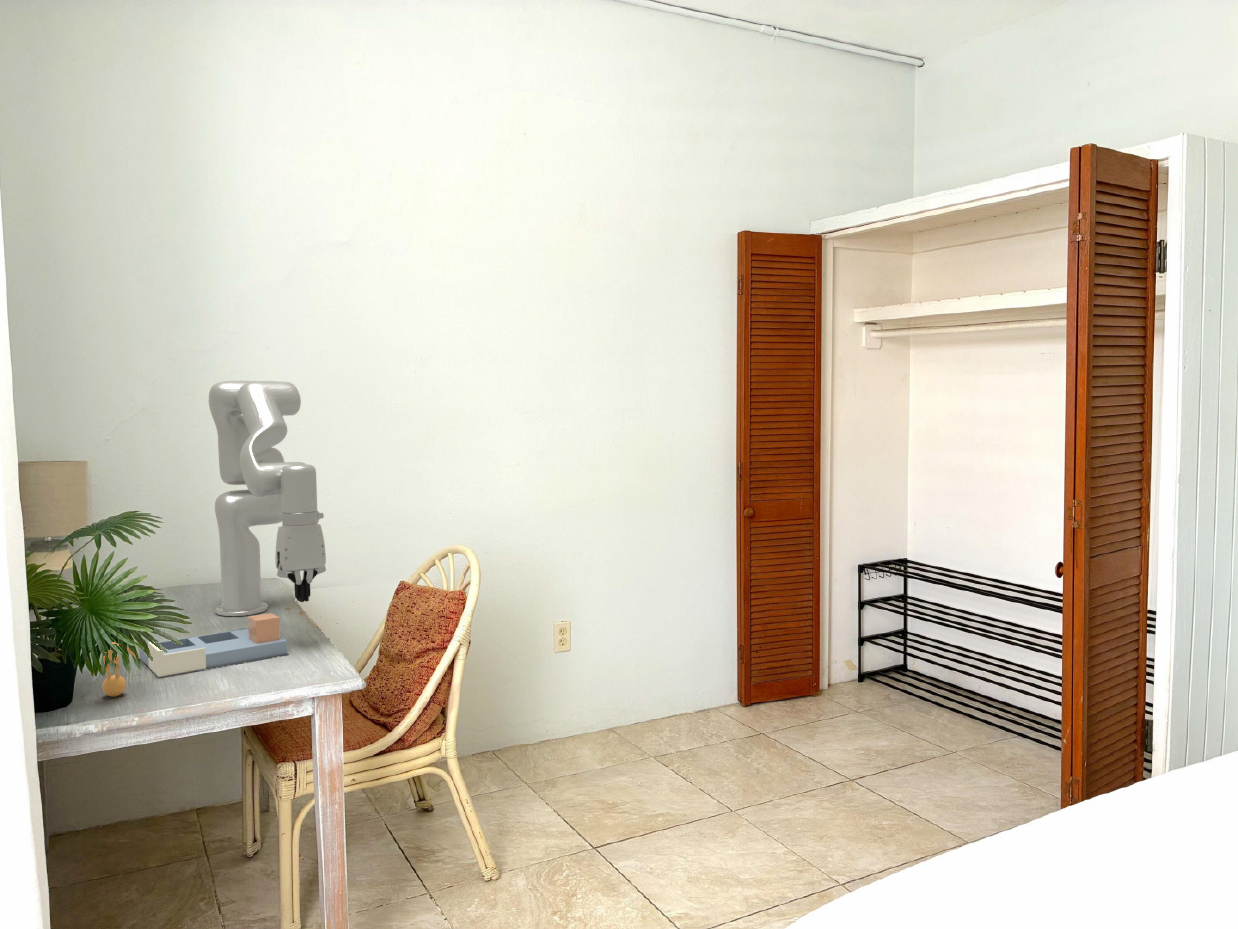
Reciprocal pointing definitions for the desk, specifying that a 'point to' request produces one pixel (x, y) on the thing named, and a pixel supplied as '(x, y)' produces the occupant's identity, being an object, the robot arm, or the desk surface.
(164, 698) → the desk surface
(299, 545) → the robot arm
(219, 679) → the desk surface
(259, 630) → the cube
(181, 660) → the slotted holder block
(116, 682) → the figurine
